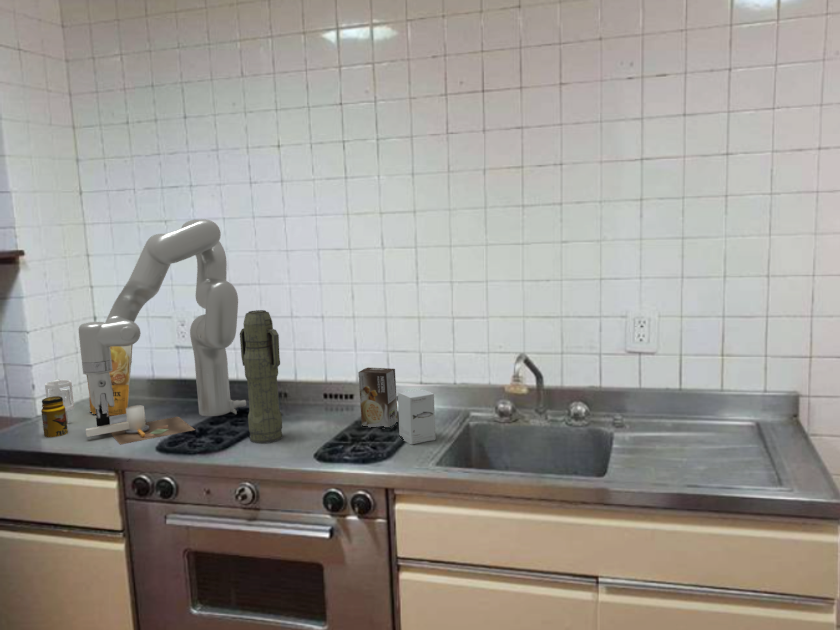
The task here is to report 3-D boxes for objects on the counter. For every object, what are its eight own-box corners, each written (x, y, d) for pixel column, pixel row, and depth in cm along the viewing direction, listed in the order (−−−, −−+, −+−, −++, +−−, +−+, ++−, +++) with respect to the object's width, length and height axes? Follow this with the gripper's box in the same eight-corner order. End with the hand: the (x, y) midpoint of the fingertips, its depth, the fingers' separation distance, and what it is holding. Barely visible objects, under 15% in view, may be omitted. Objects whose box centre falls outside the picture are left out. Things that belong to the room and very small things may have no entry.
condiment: (71, 439, 201) (66, 398, 199) (37, 446, 196) (32, 403, 194) (67, 433, 207) (63, 393, 205) (35, 439, 202) (30, 398, 200)
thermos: (277, 444, 188) (267, 313, 183) (238, 441, 192) (228, 313, 187) (293, 434, 196) (285, 309, 192) (256, 432, 200) (247, 309, 196)
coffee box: (399, 423, 203) (396, 368, 201) (389, 429, 198) (387, 373, 195) (370, 420, 207) (367, 366, 205) (360, 427, 201) (357, 371, 199)
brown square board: (178, 421, 215) (178, 416, 215) (195, 434, 200) (195, 429, 200) (107, 434, 204) (107, 429, 204) (120, 449, 189) (119, 444, 189)
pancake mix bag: (97, 409, 234) (88, 325, 230) (143, 412, 227) (134, 326, 223) (81, 414, 228) (71, 328, 224) (127, 418, 221) (118, 329, 217)
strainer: (48, 432, 209) (42, 382, 207) (52, 425, 216) (46, 377, 214) (74, 429, 211) (69, 379, 209) (77, 422, 218) (72, 375, 216)
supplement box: (411, 445, 183) (409, 397, 181) (398, 438, 189) (396, 392, 188) (436, 440, 186) (434, 393, 184) (423, 433, 193) (421, 387, 191)
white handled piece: (146, 425, 205) (144, 403, 204) (155, 434, 196) (153, 411, 195) (85, 436, 196) (82, 413, 195) (92, 446, 187) (89, 422, 186)
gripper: (116, 368, 193) (123, 434, 195) (107, 360, 205) (113, 422, 208) (86, 373, 189) (93, 439, 191) (78, 364, 201) (85, 427, 204)
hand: (104, 430), depth 200 cm, fingers closed
